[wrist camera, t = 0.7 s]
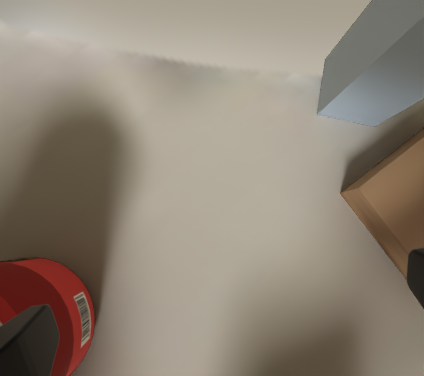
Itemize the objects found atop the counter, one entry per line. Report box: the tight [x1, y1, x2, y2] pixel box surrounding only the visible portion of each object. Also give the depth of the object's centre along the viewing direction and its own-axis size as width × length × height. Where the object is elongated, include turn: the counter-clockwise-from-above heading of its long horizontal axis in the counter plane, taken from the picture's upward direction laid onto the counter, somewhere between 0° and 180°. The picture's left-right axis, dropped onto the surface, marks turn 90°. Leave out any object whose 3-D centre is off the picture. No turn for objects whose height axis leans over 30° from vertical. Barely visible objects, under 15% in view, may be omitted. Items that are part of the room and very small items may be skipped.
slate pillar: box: [317, 0, 424, 127], centre depth 19 cm, size 4×4×12 cm
